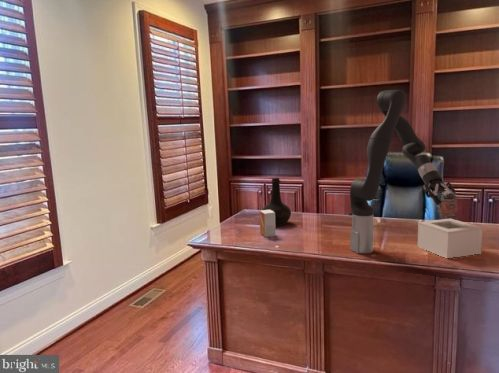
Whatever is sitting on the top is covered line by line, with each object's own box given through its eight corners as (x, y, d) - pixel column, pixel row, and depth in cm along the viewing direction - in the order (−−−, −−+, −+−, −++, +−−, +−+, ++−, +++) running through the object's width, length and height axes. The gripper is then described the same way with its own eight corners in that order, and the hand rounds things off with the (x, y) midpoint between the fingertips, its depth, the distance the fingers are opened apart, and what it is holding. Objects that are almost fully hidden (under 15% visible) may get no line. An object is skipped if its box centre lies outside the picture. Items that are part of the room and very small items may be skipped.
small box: (260, 233, 211) (259, 210, 209) (270, 232, 213) (270, 209, 211) (264, 237, 203) (264, 213, 201) (276, 235, 205) (275, 212, 203)
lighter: (443, 216, 168) (444, 194, 166) (438, 214, 171) (439, 193, 169) (458, 214, 170) (460, 192, 168) (453, 213, 173) (454, 191, 171)
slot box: (446, 259, 161) (448, 231, 160) (417, 247, 178) (418, 222, 177) (481, 254, 166) (482, 227, 164) (449, 242, 183) (450, 218, 181)
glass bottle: (258, 227, 224) (256, 180, 220) (265, 219, 241) (264, 175, 237) (287, 228, 219) (286, 180, 215) (293, 220, 236) (292, 176, 232)
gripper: (421, 170, 175) (438, 199, 166) (446, 168, 179) (465, 197, 170) (412, 180, 181) (429, 209, 172) (437, 178, 185) (455, 206, 176)
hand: (447, 203), depth 171 cm, fingers closed on lighter, 8 cm apart
